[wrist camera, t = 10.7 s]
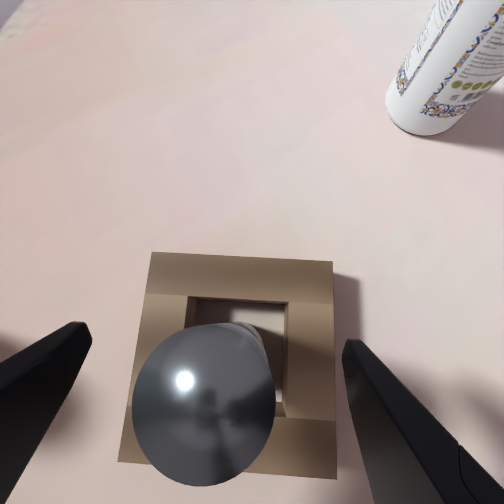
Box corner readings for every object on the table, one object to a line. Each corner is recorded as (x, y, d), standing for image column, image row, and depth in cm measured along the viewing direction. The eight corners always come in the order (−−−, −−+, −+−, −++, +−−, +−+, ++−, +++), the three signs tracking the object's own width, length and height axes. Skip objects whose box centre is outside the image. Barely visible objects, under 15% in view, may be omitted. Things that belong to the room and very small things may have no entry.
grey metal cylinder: (262, 379, 19) (273, 492, 7) (209, 375, 19) (118, 480, 7) (265, 323, 20) (278, 329, 8) (214, 320, 20) (144, 320, 8)
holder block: (324, 453, 18) (337, 479, 15) (139, 439, 18) (117, 461, 15) (322, 269, 21) (332, 261, 18) (166, 261, 22) (151, 251, 19)
